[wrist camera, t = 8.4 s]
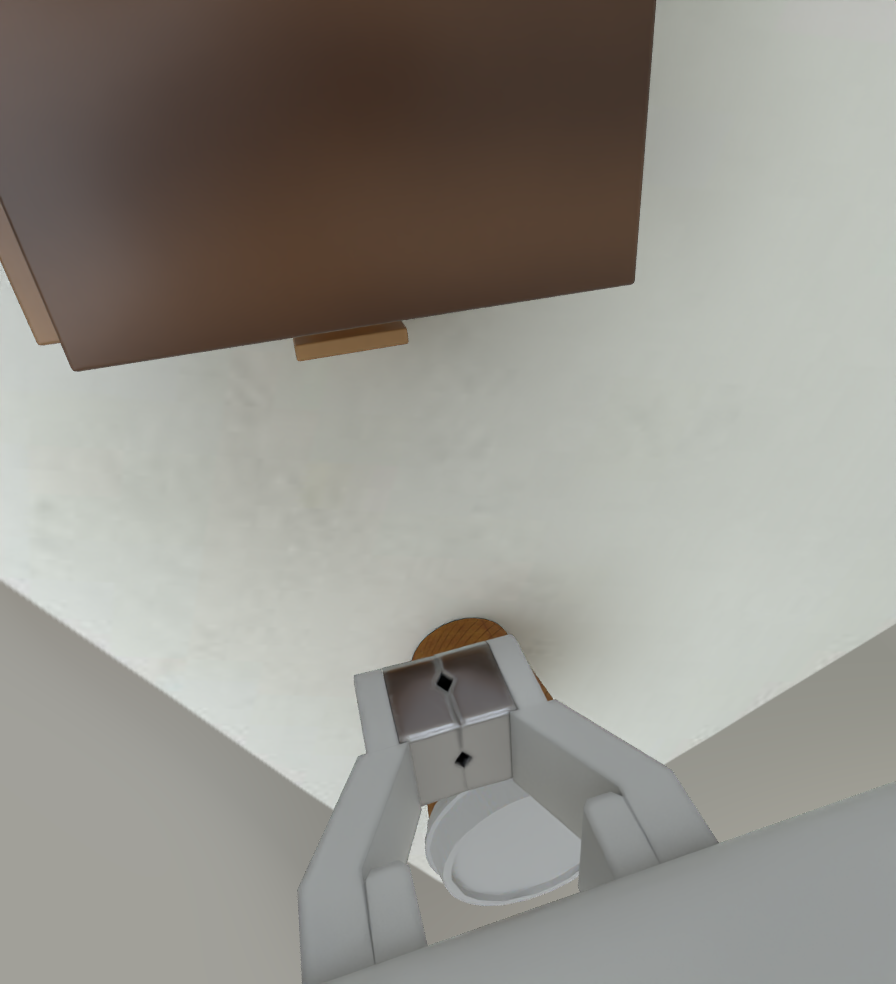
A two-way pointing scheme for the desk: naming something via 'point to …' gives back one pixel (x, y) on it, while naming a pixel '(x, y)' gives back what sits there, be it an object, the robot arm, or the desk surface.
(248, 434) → the desk surface
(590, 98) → the drawer unit
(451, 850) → the disposable coffee cup
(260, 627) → the desk surface
